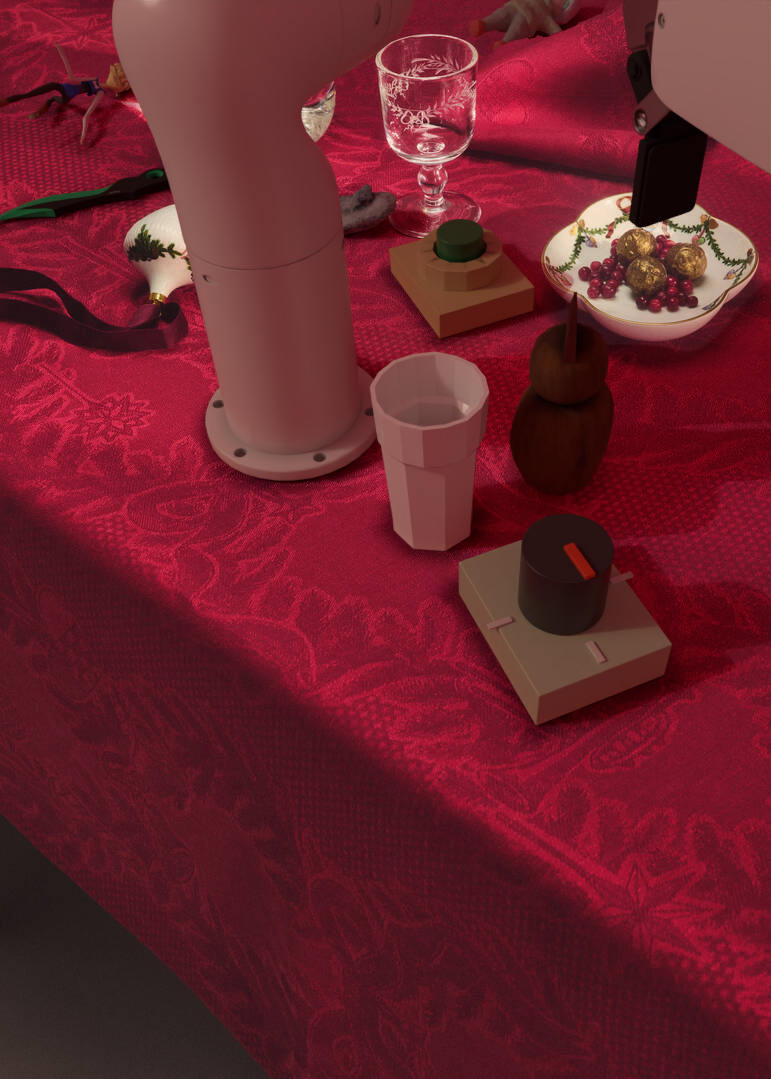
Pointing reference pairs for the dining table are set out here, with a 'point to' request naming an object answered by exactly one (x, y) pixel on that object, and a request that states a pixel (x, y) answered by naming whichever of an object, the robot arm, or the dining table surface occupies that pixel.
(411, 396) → the cup
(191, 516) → the dining table surface
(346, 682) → the dining table surface
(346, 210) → the fossil
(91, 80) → the figurine
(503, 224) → the dining table surface
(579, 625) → the dial
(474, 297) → the button box
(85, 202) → the knife
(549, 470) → the wooden figurine
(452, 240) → the button
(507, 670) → the dial panel
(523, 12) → the toy
